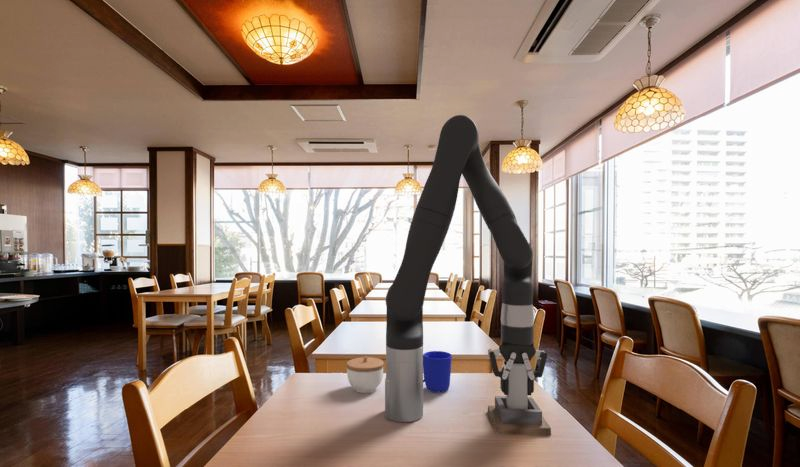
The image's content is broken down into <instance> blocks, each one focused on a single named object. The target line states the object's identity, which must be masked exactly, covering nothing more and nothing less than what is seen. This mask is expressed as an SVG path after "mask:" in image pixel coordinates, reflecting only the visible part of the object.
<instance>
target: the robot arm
mask: <svg viewBox="0 0 800 467" xmlns="http://www.w3.org/2000/svg"><path fill="white" fill-rule="evenodd" d="M479 134H480V133H479V129H478V126H477V125H476V123H475V121H474V120H473V119H472V118H471V117H469V116H467V115H464V114H457V115H454V116H452V117H450V118H449V119H447V120H446V122H445V123H444V124H443V126H442V127H441V130H440V134H439V139H438V143H437V147H436V151H435V155H434V159H433V163H432V166H431V170H430V172H429V174H428V176H427V179H426V182H425V183H424V187H423V188H422V192H421V194H420V197H419V199H418V202H417V203H416V204H417V205H416V207H415V210H414V213H413V216H412V219H411V222H410V226H409V229H408V233H407V237H406V244H405V249H404V254H403V258H402V260H401V263H400V265H399V269H398V271H397V274H396V275H395V277H394V280H393V282H392V284H391V285H390V286H389V288H388V290H387V292H386V296H385V306H386V325H385V326H386V327H385V332H386V333H385V379H384V394H385V395H384V419H385V420H392V421H395V422H399V423H412V422H415V421H419V420H420V419H421V418H423V416H424V382H423V380H424V368H423V355H424V325H423V324H424V322H423V321H424V319H423V318H424V316H423V315H424V314H423V313H424V311H423V310H424V308H423V307H424V303H425V299H426V298H425V296H426V292H427V288H428V283H429V280H430V275H431V272H432V269H433V266H434V264H435V262H436V260H437V257H438V255H439V254H440V251H441V249H442V247H443V244H444V241H445V239H446V237H447V234H448V232H449V229H450V225H451V222H452V219H453V216H454V213H455V209H456V205H457V201H458V194H459V189H460V188H459V187H460V181H461V179H462V178H464V180H465V182H466V184H467V185H468V187H469V190H470V193H471V195H472V197H473V199H474V202H475V204H476V206H477V209H478V210H479V213H480V214H481V217H482V219H483V221H484V222H485V224H486V227H487V229H488V230H489V232H490V233H491V235H492V238H493V240H494V243H495V246H496V248H497V251H498V253H499V255H500V257H501V259H502V262H503V282H502V288H501V310H500V345H499V347H498V348H495V349H492V348H489V349H488V350H487V354H488V358H489V362H490V366H491V369H492V373H493V375H494V377H497V378H500V379H499V380H500V386H499V388H500V391H501V392H502V393H503V395H504V396H507V395H508V379H507V377H508V374H509V371H510V370H511V367H512V364H514V363H519V364H525V366H526V369H527V373H528V396H532V394H533V393H534V391H535V379H537V378H542V377H543V375H544V370H545V366H546V363H547V358H548V353H547V352H546V351H545V350H543V349H541V350H539V349H536V348H535V345H534V343H535V339H534V338H535V337H534V336H535V331H534V330H535V329H534V328H535V327H534V325H535V321H534V320H535V314H534V306H533V302H534V301H533V299H534V298H533V297H534V296H533V295H534V291H533V282H532V277H533V275H532V274H533V258H534V254H533V253H534V252H533V248H532V246H531V244H530V243H529V241H528V240H527V237H526V236H525V235H524V232H523V231H522V229H521V227H520V225H519V224H518V220H517V218H516V215H515V212H514V211H513V209H512V207H511V205H510V203H509V201H508V199H507V197H506V196H505V193H504V192H503V191H502V189H501V187H500V185H498V183H497V181H496V180H495V178H494V177H493V176H492V174H491V172H490V170H489V169H488V167H487V164H486V162H485V160H484V156H483V154H482V150H481V148H480V144H479V141H480V140H479ZM499 355H501V356H502V357H503V359H504V360H503V362H502V366H501V370H500V369H499V367H498V366H499V365H498V361H497V359H499ZM534 356H535V359H536V363H535V368H534V370H533V368H532V365H531V360H532V359H533V358H534Z"/></svg>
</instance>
